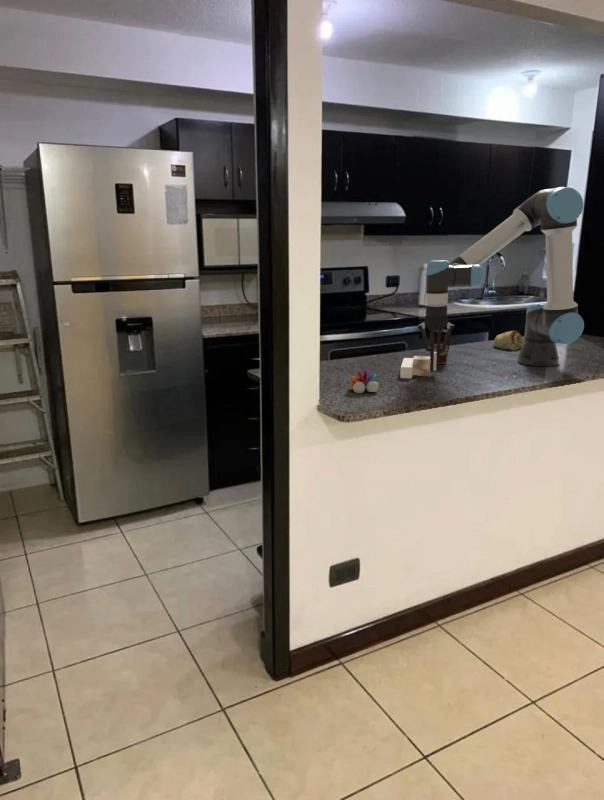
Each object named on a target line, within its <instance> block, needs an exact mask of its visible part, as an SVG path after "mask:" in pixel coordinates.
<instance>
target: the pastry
mask: <svg viewBox="0 0 604 800" xmlns="http://www.w3.org/2000/svg"><path fill="white" fill-rule="evenodd" d="M523 339H524V337H523V336H522V335H521V334H520V332H519V331H518V330H510V331H506V332H503V333H500V334H497V335H496V336H495V338H494V341H493V347H494V348H498V349H500V350H506V349H509V350H508V351H518V350H521V348H522V345H523V343H524V340H523ZM517 349H518V350H517Z"/></svg>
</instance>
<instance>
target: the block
mask: <svg viewBox="0 0 604 800" xmlns="http://www.w3.org/2000/svg"><path fill="white" fill-rule="evenodd" d="M412 358H413V373H412V376H415V375H417V377H419V376H420V377H429V376H430V372H431V360H430V355H429V356H426V355H425V356H424V355H414V356H413V357H412Z"/></svg>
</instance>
